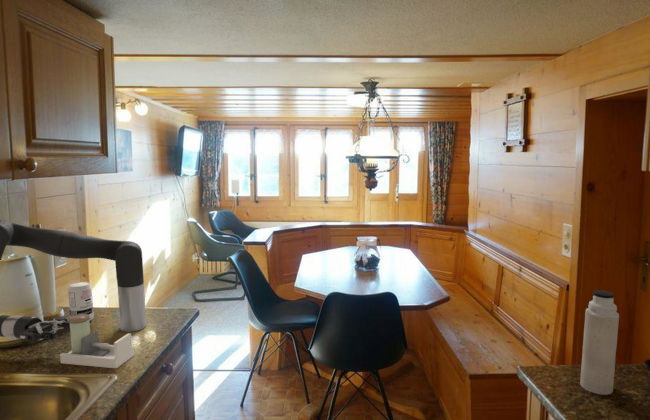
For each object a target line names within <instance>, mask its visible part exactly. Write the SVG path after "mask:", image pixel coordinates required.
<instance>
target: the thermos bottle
mask: <svg viewBox="0 0 650 420" xmlns="http://www.w3.org/2000/svg"><path fill="white" fill-rule="evenodd" d="M592 295H593V296H592V300H590V301H589V302H588V304H587V305H588V308H585V313H584V326H583V327H584V328H583V341H582V355H581V356H582V357H581V369H580V381H579V384H580V386H581V388H583V389H584V390H586V391H588V392H590V393H593V394H596V395H604V396H605V395H606V396H607V395H611V394H612V393H613V392H614V382H615V381H614V380H615V367H616V357H617V355H616V354H617V345H618V332H619V321H620V314H619V312H617V311H618V306H617V305H616V304H615V303H614V301H615V300H614V297H615V294H614V293H613V292H611V291H606V290H593V292H592Z"/></svg>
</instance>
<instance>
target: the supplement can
mask: <svg viewBox="0 0 650 420" xmlns="http://www.w3.org/2000/svg"><path fill="white" fill-rule="evenodd" d="M67 290H68V303H69V305H68V306H69V318H70V317H71V316H74V315H78V314H88V315H89V322H91V321H92V320H93V319H94V318H95V317H94V316H95V313H94V301H93V287H92V285H91V284H90V282H89V281H78V282H74V283H71V284H69V287H68V288H67Z"/></svg>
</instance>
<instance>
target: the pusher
mask: <svg viewBox="0 0 650 420" xmlns="http://www.w3.org/2000/svg"><path fill="white" fill-rule="evenodd" d="M109 345H110V344H109V343H107V342H105V343H104V342H100V341H99V332H98V331H97V330H96V331H93V332H92V333H91V332H90V335H88V336H86V337H84V338H83V339H81V346H82V355H91V356H104V355H105V354H107V353H108V352H110V350H105V349H99V347H107V348H108V347H109Z"/></svg>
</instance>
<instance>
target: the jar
mask: <svg viewBox="0 0 650 420" xmlns="http://www.w3.org/2000/svg"><path fill="white" fill-rule="evenodd" d="M68 322H70V329H69V331H70V332H69V335H70V342H71V343H70V344H71V351H72V354H80V355H82V346H81V339H83V338H84V337H86V336H88V335H90V334H91V328H90V327H91V325H90V321H89V315H88V314H78V315H74V316H71V317H70V316H69V318H68Z"/></svg>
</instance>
